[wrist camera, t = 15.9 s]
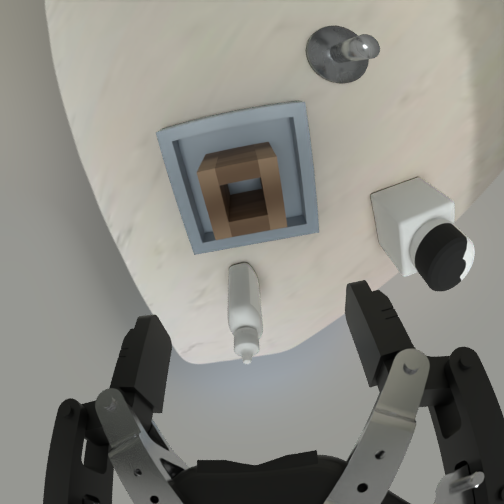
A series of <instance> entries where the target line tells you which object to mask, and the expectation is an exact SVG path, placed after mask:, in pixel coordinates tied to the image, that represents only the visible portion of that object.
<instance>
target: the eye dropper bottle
mask: <svg viewBox="0 0 504 504" xmlns="http://www.w3.org/2000/svg"><path fill="white" fill-rule="evenodd" d="M228 324H229V328H230V330H231V332H232V334H233V335H234V352H235V353H236V354H237V355H239V356H241V357H242V359H243V362H244V364H250V363H251V360H252V356H254V355H256V354H257V353H258V352H259V339H260V338H261V335H262V332H263V321H262V311H261V301H260V291H259V282H258V278H257V275H256V273H255V271H254V270H253V268H252V267H251V266H250V265H249V264H247V263H242V264H237V265H233V266H231V267H230V269H229V280H228Z"/></svg>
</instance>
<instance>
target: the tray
mask: <svg viewBox="0 0 504 504" xmlns="http://www.w3.org/2000/svg"><path fill="white" fill-rule="evenodd" d="M156 135H157V138H158V142H159V146H160V149H161V153H162V156H163V159H164V163H165V166H166V169H167V173H168V176H169V179H170V183H171V186H172V189H173V192H174V195H175V199H176V202H177V205H178V208H179V211H180V214H181V217H182V220H183V223H184V226H185V229H186V232H187V235H188V238H189V241H190V243H191V246H192V249H193V252H194V255H196V254H201V253H207V252H212V251H218V250H223V249H229V248H234V247H240V246H245V245H251V244H256V243H262V242H267V241H273V240H279V239H284V238H290V237H295V236H301V235H307V234H312V233H318V232H319V223H318V209H317V197H316V186H315V176H314V167H313V158H312V149H311V141H310V133H309V126H308V119H307V112H306V105H305V102H302V101H293V102H285V103H277V104H270V105H264V106H257V107H252V108H246V109H241V110H235V111H230V112H226V113H221V114H216V115H212V116H208V117H204V118H200V119H196V120H192V121H188V122H184V123H180V124H177V125H173V126H170V127H166V128H163V129H161V130H160V131H158V132H156ZM264 142H269V144H270V145H271V147H272V149H273V151H274V152H275V154H276V156H277V161H278V167H279V174H280V180H281V186H282V193H283V200H284V206H285V213H286V220H287V227H285V228H279V229H274V230H268V231H263V232H257V233H252V234H246V235H241V236H236V237H230V238H225V239H220V240H216V239H215V236H214V232H213V229H212V226H211V222H210V219H209V215H208V212H207V208H206V205H205V201H204V198H203V194H202V191H201V187H200V183H199V180H198V176H197V170H198V168H199V166H200V164H201V162H202V160H203V158H204V156H205V154H209V153H213V152H218V151H222V150H227V149H232V148H237V147H242V146H247V145H252V144H258V143H264ZM228 187H229V191H230V195H232V194H237V193H242V192H247V191H252V190H258V189H262V186H261V180H260V178H255V179H249V180H244V181H239V182H234V183H229V184H228Z"/></svg>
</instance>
